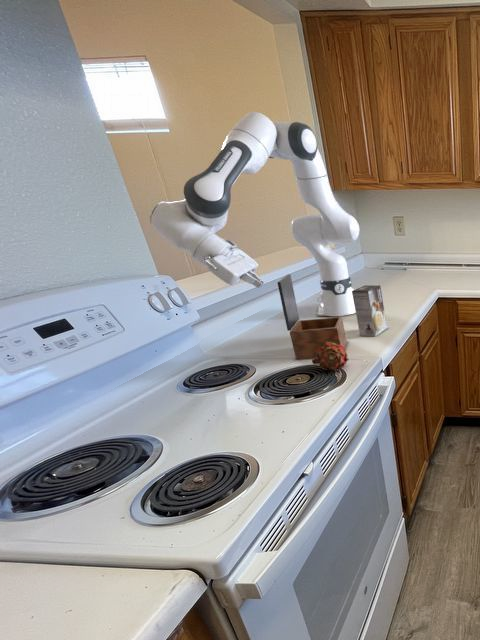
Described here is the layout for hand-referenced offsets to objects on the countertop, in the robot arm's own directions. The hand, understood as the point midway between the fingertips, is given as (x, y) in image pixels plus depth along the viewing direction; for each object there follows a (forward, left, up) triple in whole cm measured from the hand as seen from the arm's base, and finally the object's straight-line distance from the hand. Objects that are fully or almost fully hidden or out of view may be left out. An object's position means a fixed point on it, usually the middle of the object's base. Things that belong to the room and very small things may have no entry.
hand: (261, 285), depth 123 cm
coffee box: (-5, +31, -22) cm, 39 cm away
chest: (+4, +12, -22) cm, 26 cm away
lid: (+2, +6, -6) cm, 9 cm away
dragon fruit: (+22, +12, -22) cm, 34 cm away
